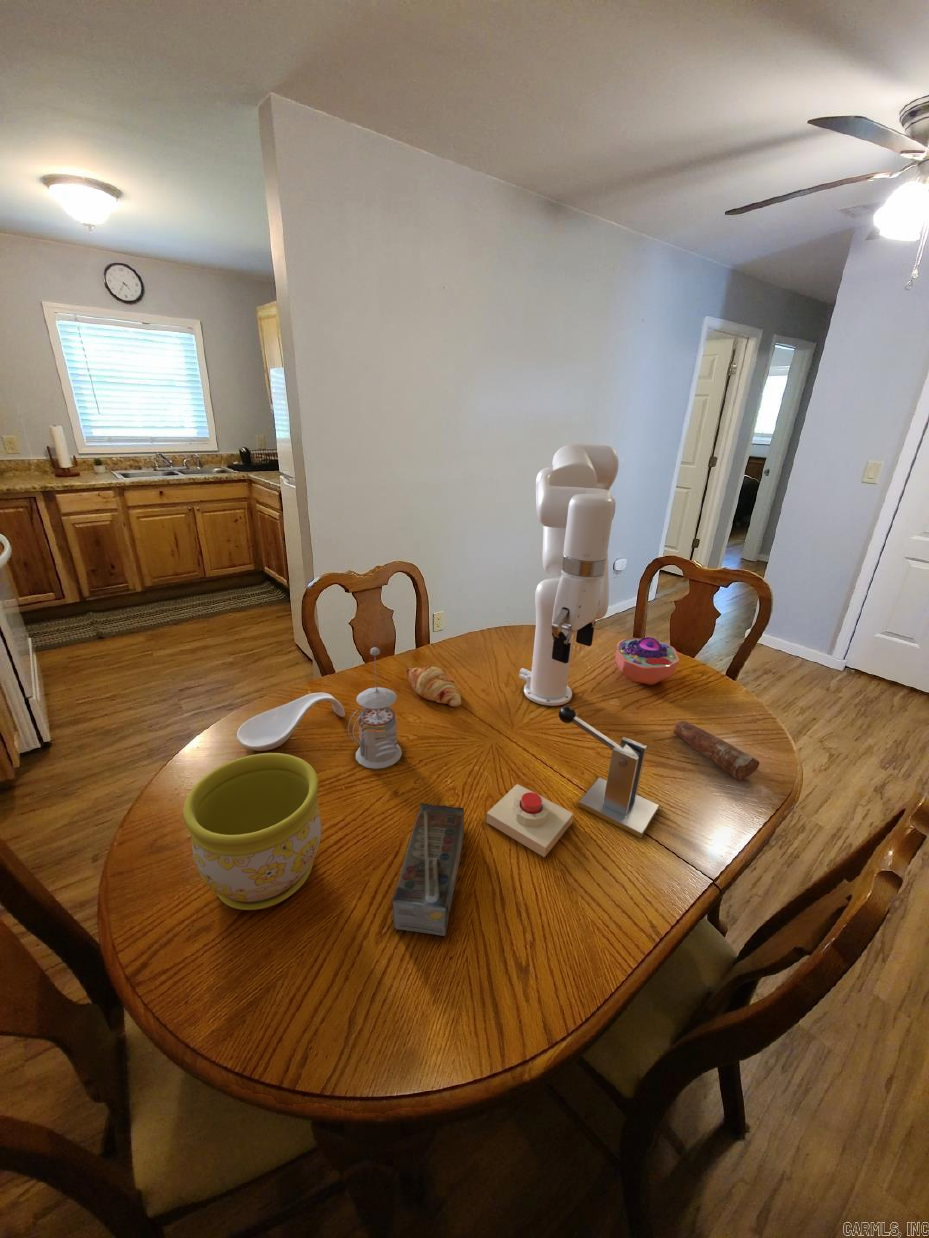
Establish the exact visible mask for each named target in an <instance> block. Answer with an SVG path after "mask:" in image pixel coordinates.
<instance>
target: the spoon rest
mask: <svg viewBox="0 0 929 1238" xmlns="http://www.w3.org/2000/svg"><path fill="white" fill-rule="evenodd" d="M321 702H329V703H330V704H331V707H332V711H333V712H334V713H335V714H336V715H337V716H338V717H341V718H343V717H345V716H346V712H345V708H344V706H343V704H342V703H341V702H340V701H339V700H337V699H336V698H335V697H334V696H333V695H332V694H330V693H328V692H312V693H308V694H306V695H304V696H301V697H299V698H296V699H294V700H292V701H290V702H287V703H285V704H283V705H280V706H277V707H275V708H272V709H269V710H267V711H264V712H261V713H258V714H256V715H254V716H252V717H251V718H249V719H247V720H246V721H245V722H243V723H242V724H241V725H240V727H239V728H238V730H237V731H236V739H237V741H238V743H239V744H241V746H243V747H245V748H246V749H248V750H251V751H255V752H256V751H257V752H266V751H270V750H274V749H277V748H278V747H281V746H282V745H284V743H286V742H287V741H288V740H289V739H290V737H292V735H293V734H294V732H295V730H296V729H297V727H298V726H299V724H300V723H301V721H302V719H303V718H304V717H305V715H306V714H307V712H308V711H309V710H310V709H311V708H312V707H313V706H314V705H316V704H318V703H321Z"/></svg>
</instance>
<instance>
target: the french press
mask: <svg viewBox="0 0 929 1238" xmlns="http://www.w3.org/2000/svg"><path fill="white" fill-rule="evenodd" d="M369 654H370V655H371V656H373V657H374V678H375V680H374V681H375V687H369V688H367V689H365V690H363V691H361V692H360V693H359V694H358V695H357V696H356V703H357V704H358V705H359V706H360V707H361V708H362V709H364V710H362V711H361V712H360V709H357V710H355V711H354V712H353V713H352V714H351V716H350V719H349V721H348V725H347V734H348V737H349V738H350V739H351V741H354V742H355V743H356V744H357V745H359V747H358V749H357V750H356V752H355V760H356V761H357V762H358V764H359V765H361V766H363V767H365V768H368V769H373V770H374V769H377V770H378V769H386V768H388V767H391V766H393V765H394V764H397V762H398V761H399V760H400V759H401V758H402V755H403V751H402V747H400V745H399V744H398V733H397V731H398V728H397V727H398V725H397V724H398V722H397V718H396V713H395V710H393V709H392V708H391V706H393V705H394V704H395V703H396V701H397V700H398V696H397V693H395V692H394V691H393V690H391V689H389V688H386V687H380V686H378V685H377V684H378V683H377V682H378V681H377V657H376V656H379V655H380V654H381V650H380V649H379V648H378V647H376V646H374V647H372V648H371V649H370V651H369ZM357 712H358V716H357V718H356V720H355V722H354V724H353V727H352V736H351V733H350V725H351V721H352V719H353V718H354V715H355V714H356V713H357ZM357 722H358V733H359V739H356V737H355V729H356V724H357ZM365 725H366V726H365ZM367 729H368V730H367ZM371 730H375V731H371ZM377 730H378V731H377Z"/></svg>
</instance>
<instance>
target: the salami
mask: <svg viewBox="0 0 929 1238" xmlns="http://www.w3.org/2000/svg"><path fill="white" fill-rule="evenodd" d="M673 733H674V735H676V736H677V737H679V738H680V739H681V740H683V741H684V742H685V743H686V744H688V745H689V746H690V747H692V748H693V749H694V750H696V751H697V752H699V753H700V754H701V755H703V756H704V757H706V759H708V760H710V761H711V762H712V763H714V764H715V765H717V766H718V767H719V768H721V769H722V770H723V771H724V772H725V773H727V774H729V775H730V776H731V777H733V778H734V779H736V780H737V781H742V780H743V778H747V777H749V776H751V775H752V774H753V773H755V772H756V771H757V770H758V768H759V766H760V761H759V760H758V759H756V758H755V757H753V756H752V755H751V754H750V753H749V754H748V753H747V752H746V751H743V750H742V749H739V748H738V747H736V746H734V745H732V744H731V743H729V742H727V741H725V740H724V739H721V738H720V737H717V736H715V735H713V734H712V733H710V732H709V731H706V730H705V729H702V728H700V727H698V726H697V725H694V724H692V723H691V722H688V721H686V720H680V721H678V722H677V723H676V724H675V726H674V727H673Z"/></svg>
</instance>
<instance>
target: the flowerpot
mask: <svg viewBox="0 0 929 1238" xmlns="http://www.w3.org/2000/svg"><path fill="white" fill-rule="evenodd" d="M319 785H320V784H319V778H318V775H317V772H316V770H315V769H314V768H313V767H312V765H310V764H309V762H307V761H306V760H305V759H302V758H300V757H298V756H295V755H292V754H287V753H281V752H264V753H256V754H251V755H246V756H242V757H239V758H237V759H233V760H231V761H229V762H226V763H225V764H222V765H220V766H219V767H217V768H214V770H212V771H210V772H208V773H207V774H206V775H204V776H203V777H202V778H201V779H200V780H199V781H198V782H197V783H196V784H195V785H194V786H193V788H192V789H191V790H190V792H189V793H188V794H187V797H186V799H185V801H184V804H183V811H182V812H183V813H182V815H183V821H184V824H185V826H186V828H187V830H188V831H189V835H190V837H191V850H192V856H193V860H194V865H195V867H196V870H197V872H198V874H199V876H200V878H201V879H202V881H203V882H204V883H205V885H206V886H207V887H208V888H209V889H211V890H212V891H213V892H214V893H216V895H217V897H218V899H220V901H221V902H222V903H224V904H225V905H227V906H229V907H230V908H233V909H237V910H243V911H256V910H257V911H258V910H264V909H269V908H271V907H274V906H276V905H278V904H280V903H282V902H284V901H285V900H287V899H288V898H290V897H291V896H292V895H293V894H295V893H296V892H297V891H298V890H299V889H300V888H301V887H302V886H303V885H304V883H305V882H306V881H307V879H308V878H309V876H310V874H311V872H312V869H313V865H314V860H315V858H316V855H317V853H318V851H319V847H320V843H321V839H322V828H323V827H322V826H323V825H322V816H321V815H322V814H321V809H320V805H319V802H318V801H319V800H318V797H319V795H318V793H319Z"/></svg>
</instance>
